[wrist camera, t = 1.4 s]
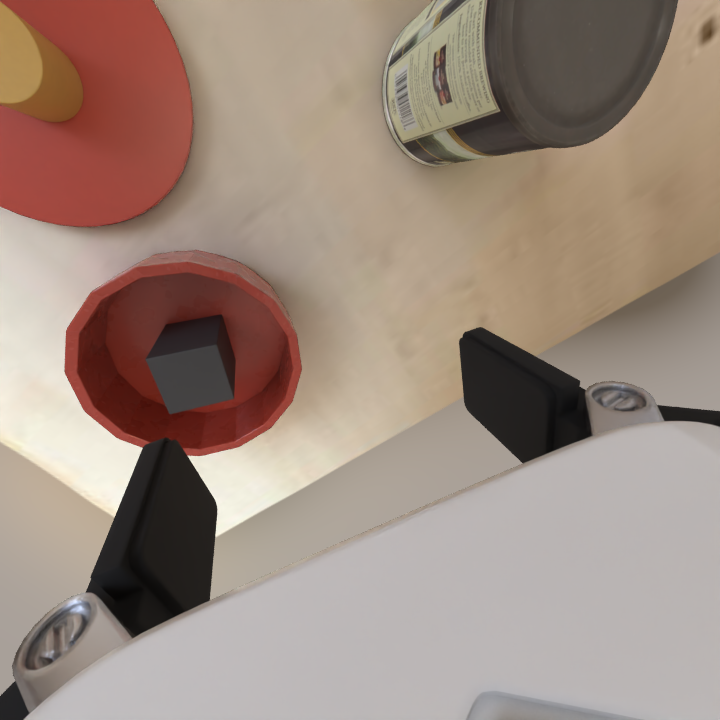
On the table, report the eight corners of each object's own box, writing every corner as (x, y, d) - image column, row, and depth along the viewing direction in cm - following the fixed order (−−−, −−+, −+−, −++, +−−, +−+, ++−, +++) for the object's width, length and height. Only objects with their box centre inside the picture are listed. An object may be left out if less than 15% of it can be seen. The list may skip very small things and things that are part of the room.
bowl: (92, 404, 30) (61, 448, 25) (105, 223, 25) (69, 230, 20) (270, 422, 36) (275, 460, 31) (309, 279, 31) (323, 296, 26)
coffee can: (514, 106, 30) (700, 45, 18) (428, 193, 31) (548, 192, 19) (455, -31, 25) (661, -247, 13) (354, 79, 26) (455, -25, 14)
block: (183, 371, 30) (169, 414, 24) (165, 324, 28) (145, 359, 22) (235, 360, 31) (234, 399, 25) (221, 313, 29) (216, 344, 23)
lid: (-123, 174, 21) (-251, 167, 15) (-175, -212, 15) (-396, -429, 10) (177, 253, 27) (161, 268, 22) (213, 0, 22) (203, -63, 16)
